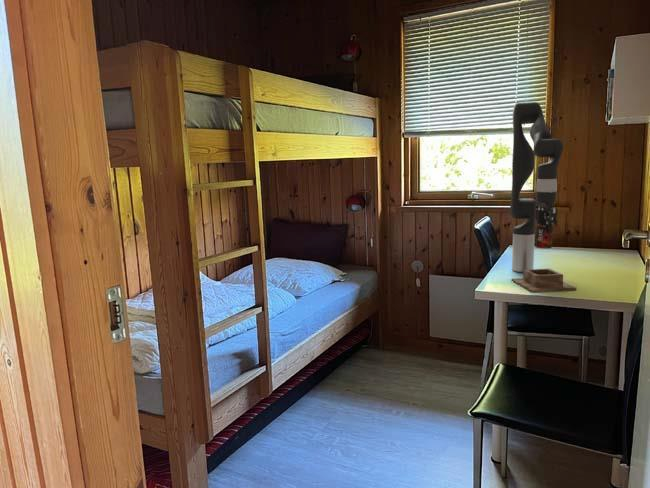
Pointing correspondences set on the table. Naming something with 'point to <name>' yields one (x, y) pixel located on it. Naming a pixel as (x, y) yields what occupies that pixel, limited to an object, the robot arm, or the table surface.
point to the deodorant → (543, 231)
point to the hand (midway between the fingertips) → (544, 232)
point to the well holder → (543, 281)
